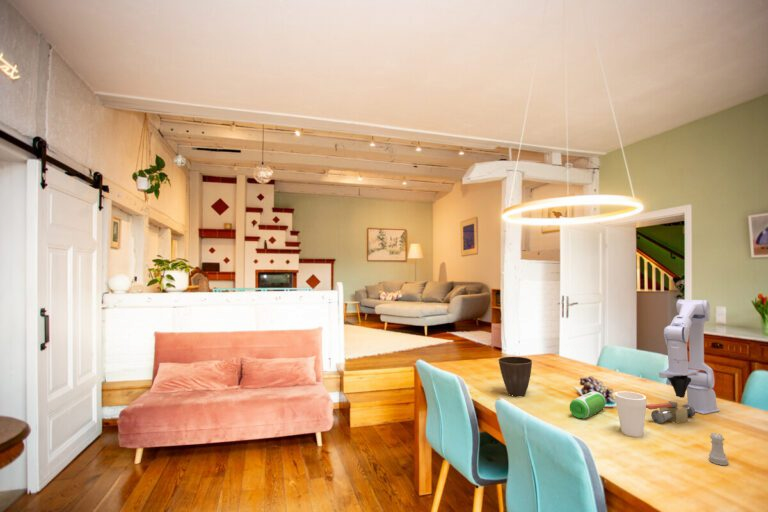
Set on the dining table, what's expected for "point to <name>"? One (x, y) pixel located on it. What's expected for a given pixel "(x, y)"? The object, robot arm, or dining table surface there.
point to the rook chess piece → (717, 450)
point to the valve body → (673, 414)
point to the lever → (662, 405)
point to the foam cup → (631, 412)
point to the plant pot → (516, 374)
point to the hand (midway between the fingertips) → (680, 396)
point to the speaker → (587, 404)
